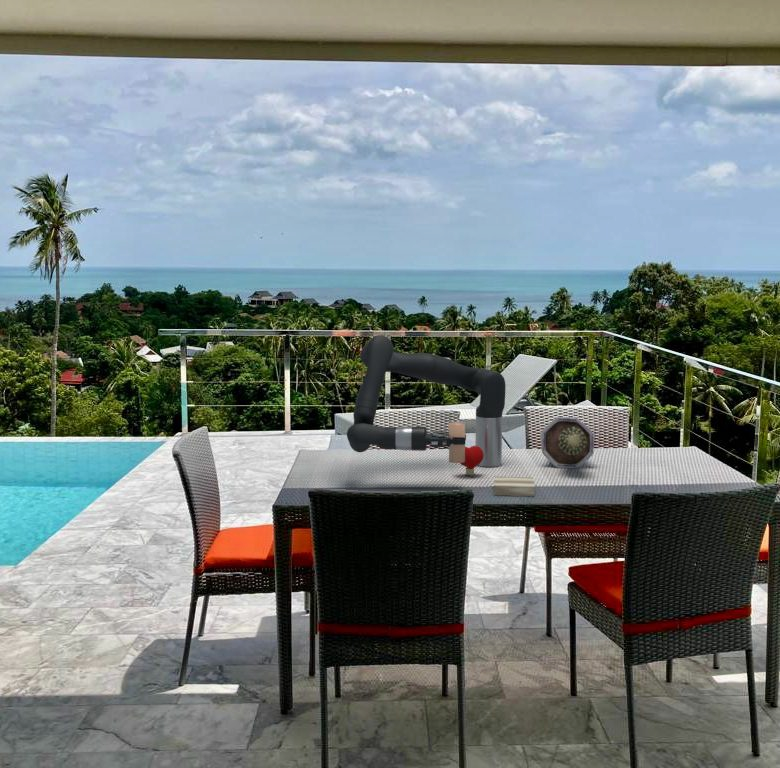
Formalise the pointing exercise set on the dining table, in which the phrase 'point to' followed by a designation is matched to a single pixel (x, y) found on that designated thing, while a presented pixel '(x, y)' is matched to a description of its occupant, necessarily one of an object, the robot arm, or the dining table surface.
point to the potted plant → (567, 442)
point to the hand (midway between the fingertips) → (465, 439)
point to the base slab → (514, 486)
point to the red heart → (472, 459)
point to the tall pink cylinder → (457, 450)
